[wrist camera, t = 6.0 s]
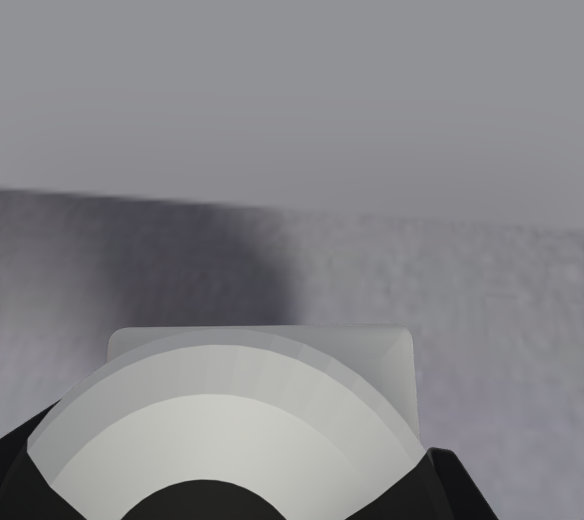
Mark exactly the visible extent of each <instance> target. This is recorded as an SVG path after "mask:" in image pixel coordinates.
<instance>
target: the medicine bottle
mask: <svg viewBox="0 0 584 520" xmlns="http://www.w3.org/2000/svg"><path fill="white" fill-rule="evenodd" d="M0 520H455V519H454V516H453V513H452V510H451V507H450V505H449V502H448V499H447V496H446V493H445V490H444V487H443V485H442V483H441V481H440V479H439V477H438V475H437V473H436V471H435V469H434V467H433V465H432V463H431V461H430V459H429V457H428V455H427V453H426V451H425V450H424V448H423V447H422V445H421V444H420V434H419V421H418V407H417V394H416V381H415V367H414V354H413V341H412V337H411V334H410V332H409V331H408V330H407V329H406V328H405V327H404V326H401V325H397V324H354V325H278V326H201V327H126V328H123V329H119V330H117V331H115V332H114V333H113V334H112V335H111V337H110V340H109V343H108V353H107V363H106V364H105V365H103V366H102V367H100V368H98V369H97V370H96V371H94V372H93V373H92V374H91V375H89V376H88V377H87V378H85V379H84V380H83V381H81V382H80V383H79V384H77V385H76V386H75V387H74V388H72V389H71V390H70V391H69V392H68V393H67V394H66V395H65V396H64V397H63V398H62V399H61V400H60V401H59V402H58V403H57V404H56V405H55V406H54V407H53V408H52V409H51V410H50V411H49V412H48V414H47V415H46V416H45V417H44V419H43V420H42V421H41V422H40V424H39V425H38V426H37V427H36V429H35V430H34V431H33V432H32V434H31V435H30V436H29V438H28V439H27V441H26V442H25V444H24V445H23V447H22V449H21V450H20V452H19V453H18V455H17V457H16V458H15V460H14V462H13V463H12V465H11V466H10V468H9V470H8V472H7V474H6V476H5V479H4V481H3V483H2V485H1V487H0Z"/></svg>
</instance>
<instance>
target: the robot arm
mask: <svg viewBox="0 0 584 520" xmlns="http://www.w3.org/2000/svg"><path fill="white" fill-rule="evenodd" d="M60 400H61V399H60ZM60 400H59V401H60ZM59 401H57V402H56V403H54V404H53V405H51V406H50V407H48V408H47V409H45V410H43V411H42V412H40V413H39V414H37V415H36V416H34V417H33V418H31V419H30V420H28V421H27V422H25V423H24V424H22V425H20V426H19V427H17V428H16V429H14V430H13V431H11V432H10V433H8V434H7V435H5V436H4V437H2V438H1V439H0V487H1V485H2V483H3V481H4V479H5V476H6V474H7V472H8V470H9V468H10V466H11V465H12V463H13V462H14V460H15V458H16V457H17V455H18V453H19V452H20V450H21V449H22V447H23V445H24V444H25V442H26V441H27V439H28V438H29V436H30V435H31V434H32V432H33V431H34V430H35V429H36V427H37V426H38V425H39V424H40V422H41V421H42V420H43V419H44V417H45V416H46V415H47V414H48V412H49V411H50V410H51V409H52V408H53V407H54V406H55V405H56V404H57V403H58V402H59ZM427 455H428V457H429V459H430V461H431V463H432V465H433V467H434V469H435V471H436V473H437V475H438V477H439V479H440V481H441V483H442V485H443V487H444V490H445V493H446V496H447V499H448V502H449V505H450V507H451V510H452V513H453V516H454V519H455V520H498V518H497V517H496V515H495V514H494V512H493V510H492V509H491V507H490V506H489V504H488V503H487V501H486V500H485V498H484V497H483V495H482V494H481V492H480V491H479V489H478V488H477V486H476V485H475V483H474V482H473V480H472V479H471V477H470V476H469V474H468V473H467V471H466V470H465V468H464V466H463V465H462V463H461V462H460V460H459V459H458V457H457V456H456V455H455V453H454V452H452V451H450V450H447V449H441V448H434V447H431V448H429V449H428V451H427Z"/></svg>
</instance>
